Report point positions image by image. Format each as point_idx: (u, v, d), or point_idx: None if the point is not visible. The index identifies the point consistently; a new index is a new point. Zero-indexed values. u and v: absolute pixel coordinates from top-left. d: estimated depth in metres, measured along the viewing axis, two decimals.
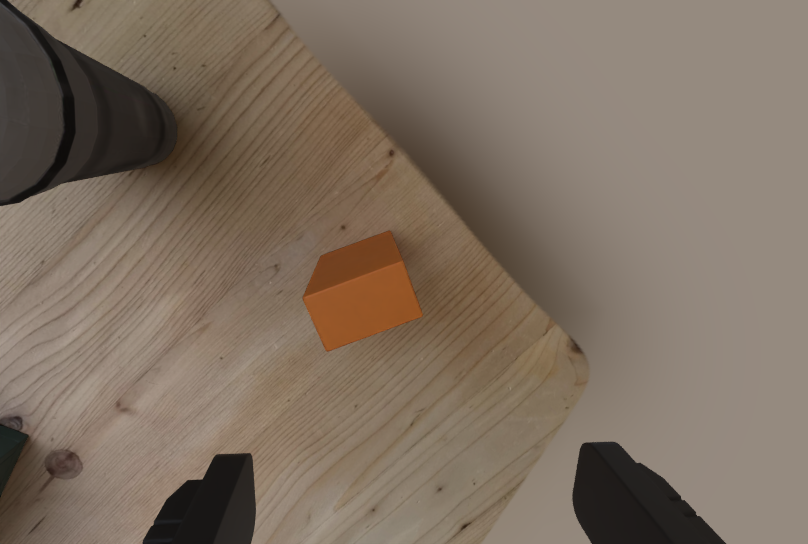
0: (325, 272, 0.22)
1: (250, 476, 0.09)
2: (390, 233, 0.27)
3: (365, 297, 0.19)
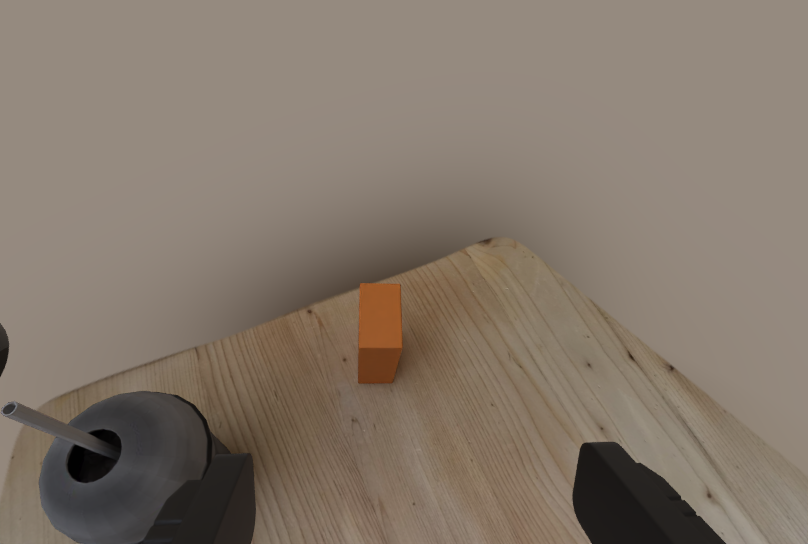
0: None
1: (250, 476, 0.09)
2: None
3: (374, 310, 0.29)
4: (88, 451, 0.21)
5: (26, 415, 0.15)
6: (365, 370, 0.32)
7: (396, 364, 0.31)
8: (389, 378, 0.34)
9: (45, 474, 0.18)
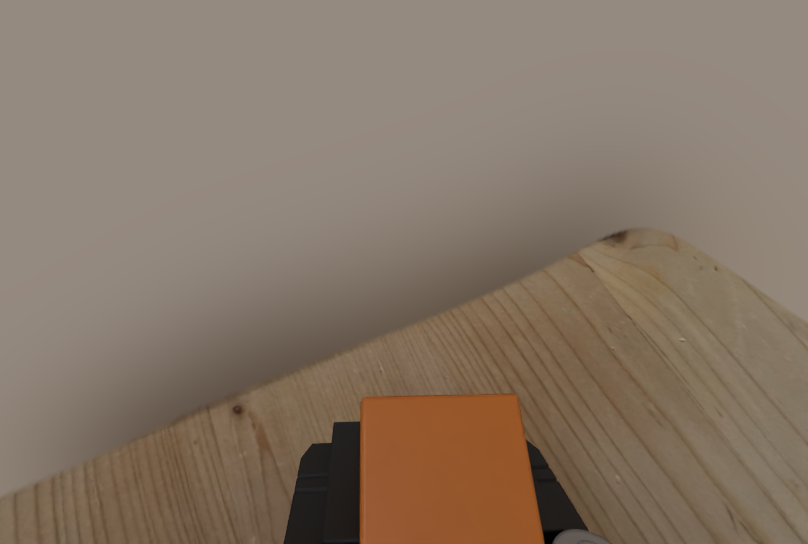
0: None
1: None
2: None
3: (427, 538, 0.07)
4: None
5: None
6: None
7: None
8: None
9: None
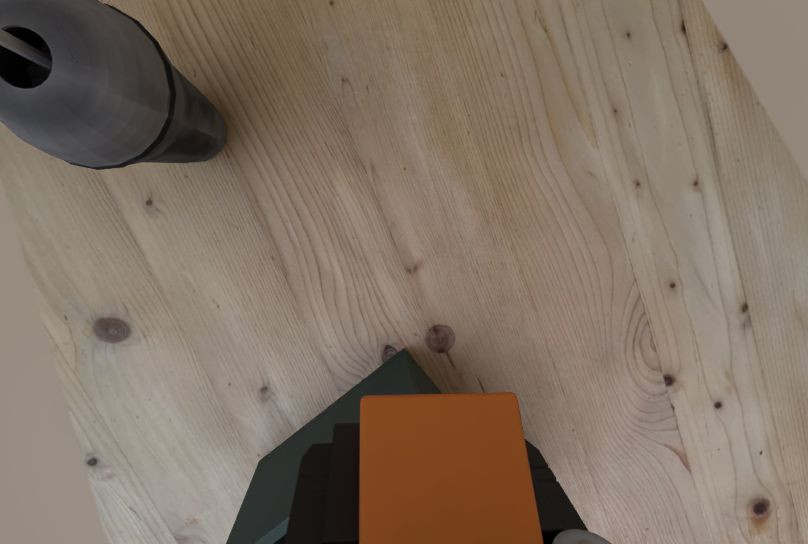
0: None
1: None
2: None
3: (425, 536, 0.07)
4: (31, 69, 0.19)
5: None
6: None
7: None
8: None
9: None
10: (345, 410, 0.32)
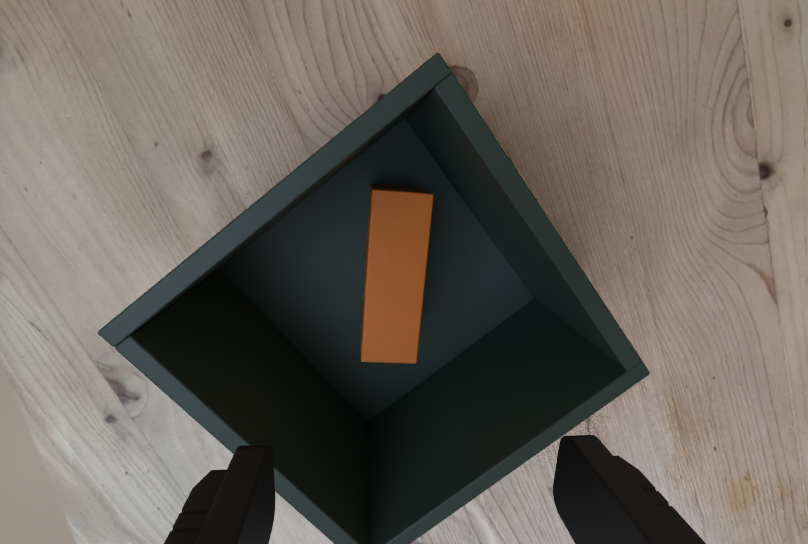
0: None
1: (270, 467, 0.10)
2: None
3: (390, 187, 0.22)
4: None
5: None
6: (377, 292, 0.21)
7: (424, 267, 0.21)
8: (412, 336, 0.22)
9: None
10: None
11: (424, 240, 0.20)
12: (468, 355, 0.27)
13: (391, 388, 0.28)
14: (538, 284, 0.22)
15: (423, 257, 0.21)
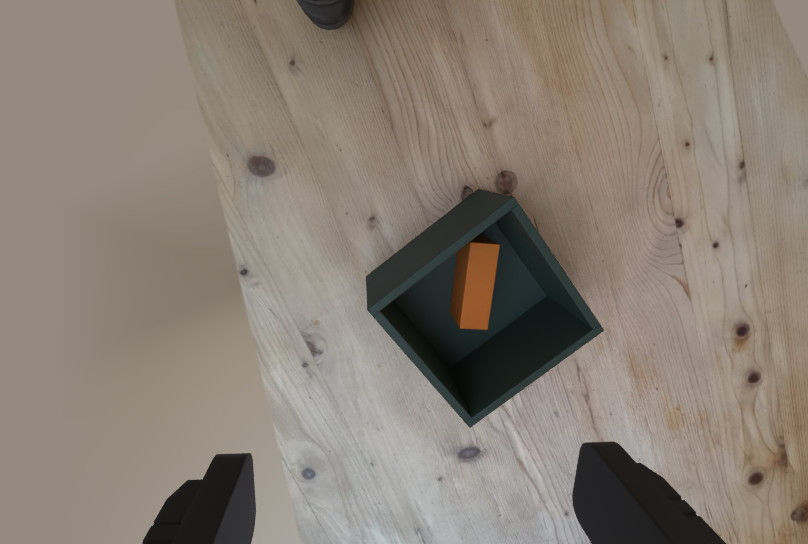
0: (464, 273, 0.42)
1: (250, 476, 0.09)
2: (451, 302, 0.47)
3: None
4: None
5: None
6: (469, 292, 0.41)
7: (493, 280, 0.41)
8: (486, 315, 0.42)
9: None
10: (438, 227, 0.42)
11: (494, 266, 0.41)
12: (509, 328, 0.47)
13: (464, 348, 0.48)
14: (550, 288, 0.43)
15: (493, 275, 0.41)
